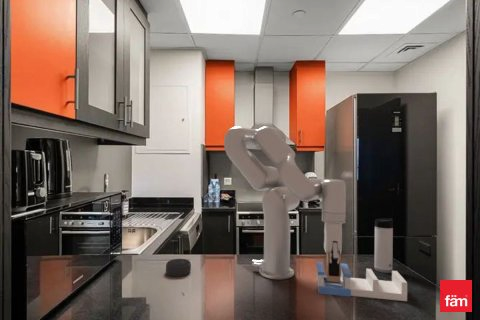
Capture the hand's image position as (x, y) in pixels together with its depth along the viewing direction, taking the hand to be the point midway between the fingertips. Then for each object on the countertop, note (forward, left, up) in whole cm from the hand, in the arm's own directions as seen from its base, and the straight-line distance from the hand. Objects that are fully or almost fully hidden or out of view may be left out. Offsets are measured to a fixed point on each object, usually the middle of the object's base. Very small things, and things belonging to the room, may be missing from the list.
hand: (333, 272), depth 98 cm
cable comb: (+8, 0, -5) cm, 9 cm away
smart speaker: (-54, 0, -5) cm, 54 cm away
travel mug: (+21, +22, -5) cm, 31 cm away
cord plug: (0, 0, -2) cm, 2 cm away
